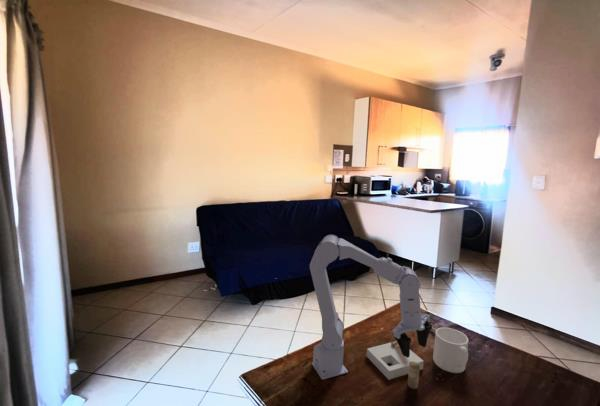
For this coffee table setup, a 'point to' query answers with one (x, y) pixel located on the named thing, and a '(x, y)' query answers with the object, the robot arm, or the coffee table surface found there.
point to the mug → (450, 350)
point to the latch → (398, 344)
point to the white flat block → (392, 360)
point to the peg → (413, 375)
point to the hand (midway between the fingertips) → (414, 350)
